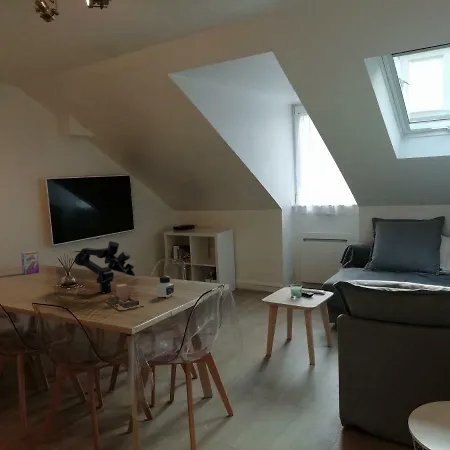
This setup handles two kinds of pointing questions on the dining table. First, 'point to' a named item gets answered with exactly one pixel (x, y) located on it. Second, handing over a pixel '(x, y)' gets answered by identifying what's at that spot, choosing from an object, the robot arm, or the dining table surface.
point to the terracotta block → (122, 292)
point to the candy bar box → (30, 262)
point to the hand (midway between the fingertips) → (129, 273)
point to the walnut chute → (115, 300)
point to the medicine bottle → (165, 286)
